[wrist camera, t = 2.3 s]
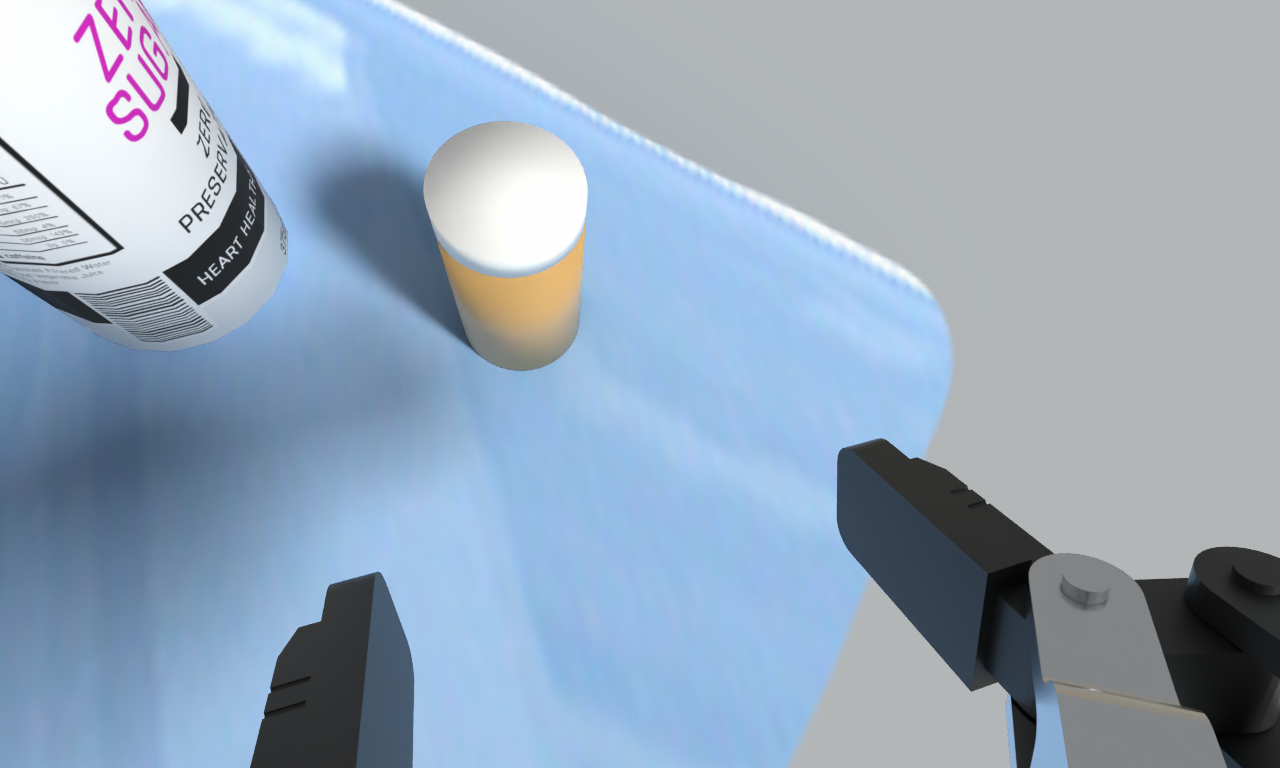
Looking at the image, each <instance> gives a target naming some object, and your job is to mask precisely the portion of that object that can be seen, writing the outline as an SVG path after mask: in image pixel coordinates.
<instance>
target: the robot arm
mask: <svg viewBox="0 0 1280 768" xmlns="http://www.w3.org/2000/svg"><path fill="white" fill-rule="evenodd" d="M837 523H838V528H839V531H840V534H841V537H842V539H843V542H844V544H845V545H846V547H847V549H848V550H849V551H850V553H851V554H852V555H853V556H854V557H855V558H856V560H857V561H858V562H859V563H860V564H861V565H862V567H863V568H864V569H865V570H866V571H867V572H868V573H869V575H870V576H871V577H872V578H873V579H874V580H875V581H876V583H877V584H878V585H879V586H880V587H881V588H882V589H883V591H884V592H885V593H886V594H887V595H888V596H889V598H890V599H891V600H892V601H893V602H894V603H895V604H896V606H897V607H898V608H899V609H900V610H901V611H902V612H903V614H904V615H905V616H906V617H907V618H908V619H909V621H910V622H911V623H912V624H913V625H914V626H915V627H916V628H917V630H918V631H919V632H920V633H921V634H922V635H923V637H924V638H925V639H926V640H927V641H928V642H929V643H930V645H931V646H932V647H933V648H934V649H935V650H936V652H937V653H938V654H939V655H940V656H941V657H942V659H944V661H945V662H946V663H947V664H948V665H949V667H950V668H951V669H952V670H953V671H954V672H955V673H956V675H957V676H958V677H959V678H960V679H961V680H962V681H963V683H964V684H965V685H966V686H967V687H968V688H969V690H970V691H974V690H977V689H980V688H983V687H985V686H988V685H991V684H994V683H997V682H998V683H999V684H1000V685H1001V686H1002V687H1003V688H1004V689H1005V690H1006V691H1007V692H1008V695H1007V701H1006V715H1007V716H1006V717H1007V729H1008V742H1009V754H1010V767H1011V768H1280V558H1278V557H1275V556H1272V555H1270V554H1266V553H1263V552H1260V551H1256V550H1251V549H1246V548H1239V547H1216V548H1210V549H1207V550H1205V551H1202V552H1201V553H1200V554H1198V555H1197V557H1196V558H1195V560H1194V563H1193V566H1192V569H1191V572H1190V576H1189V578H1178V579H1177V578H1174V579H1149V580H1148V579H1147V580H1133V579H1132V578H1131V577H1130V576H1129V575H1127V574H1126V573H1124V571H1122V570H1120V569H1119V568H1117V567H1115V566H1113V565H1111V564H1109V563H1107V562H1105V561H1102V560H1099V559H1097V558H1092V557H1089V556H1085V555H1080V554H1070V553H1059V554H1054V553H1052V552H1051V551H1050V550H1049V549H1047V548H1046V547H1045V546H1044V545H1042V544H1041V543H1040V542H1038V541H1037V540H1036V539H1035V538H1033V537H1032V536H1031V535H1029V534H1028V533H1027V532H1026V531H1024V530H1023V529H1022V528H1020V527H1019V526H1018V525H1017V524H1015V523H1014V522H1013V521H1011V520H1010V519H1009V518H1008V517H1006V516H1005V515H1003V514H1002V513H1001V512H1000V511H999V510H997V509H996V508H995V507H993V506H992V505H991V504H986V502H985V499H983V498H982V497H981V496H979V495H978V494H977V493H975V492H974V491H973V490H968V487H967V485H965V484H964V483H963V482H961V481H960V480H958V478H956V477H955V476H954V475H952V474H951V473H950V472H949V471H947V470H946V469H944V468H941V467H939V466H936V465H934V464H932V463H929V462H927V461H924V460H922V459H919V458H917V457H916V458H913V459H909V458H908V457H907V456H905V455H904V454H903V453H902V452H901V451H899V450H898V449H897V448H896V447H894V446H893V445H892V444H891V443H889V442H888V441H887V440H885V439H881V438H880V439H876V440H872V441H868V442H864V443H861V444H857V445H853V446H850V447H846V448H843V449H841V450H840V452H839V454H838V461H837ZM270 689H271V693H269V694H268V698H267V702H266V706H265V710H264V715H265V719H262V722H261V726H260V730H259V734H258V738H257V742H256V746H255V750H254V754H253V758H252V762H251V766H250V768H412V762H413V710H414V672H413V664H412V658H411V653H410V648H409V645H408V641H407V639H406V636H405V633H404V630H403V628H402V625H401V622H400V620H399V617H398V614H397V612H396V609H395V606H394V604H393V601H392V598H391V595H390V593H389V590H388V587H387V585H386V582H385V580H384V578H383V576H382V574H381V573H380V572H375V573H372V574H368V575H364V576H360V577H357V578H353V579H349V580H346V581H342V582H338V583H334V584H331V585H329V587H328V589H327V593H326V598H325V604H324V609H323V614H322V620H321V622H317V623H313V624H310V625H306V626H303V627H299V628H298V629H297V631H296V632H295V634H294V635H293V636H292V638H291V639H290V641H289V642H288V643H287V645H286V646H285V648H284V649H283V651H282V652H281V653H280V655H279V656H278V658H277V662H276V666H275V670H274V674H273V678H272V682H271V686H270Z"/></svg>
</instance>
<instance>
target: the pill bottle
mask: <svg viewBox="0 0 1280 768" xmlns="http://www.w3.org/2000/svg"><path fill="white" fill-rule="evenodd" d="M423 191H424V200H425V204H426V208H427V211H428V214H429V217H430V221H431V224H432V227H433V230H434V233H435V237H436V240H437V243H438V246H439V250H440V253H441V256H442V259H443V263H444V266H445V269H446V272H447V275H448V279H449V282H450V285H451V288H452V292H453V295H454V298H455V301H456V305H457V308H458V311H459V314H460V317H461V321H462V324H463V327H464V330H465V334H466V336H467V338H468V341H469V342H470V344H471V346H472V347H473V348H474V350H475V351H476V352H477V353H478V354H479V355H480V356H481V357H482V358H484V359H485V360H487V361H488V362H490V363H492V364H494V365H496V366H498V367H501V368H505V369H509V370H516V371H526V370H533V369H537V368H541V367H543V366H546V365H548V364H550V363H552V362H554V361H555V360H557V359H558V358H560V357H561V356H562V355H563V354H564V353H565V352H566V351H567V350H568V349H569V347H570V346H571V344H572V343H573V341H574V339H575V337H576V334H577V331H578V327H579V317H580V301H581V285H582V270H583V254H584V238H585V222H586V206H587V181H586V176H585V173H584V170H583V167H582V165H581V163H580V161H579V159H578V158H577V156H576V155H575V154H574V152H573V151H572V150H571V149H570V148H569V147H568V146H567V145H566V144H565V143H564V142H563V141H562V140H560V139H559V138H558V137H556V136H555V135H553V134H551V133H549V132H547V131H546V130H544V129H541V128H538V127H536V126H533V125H529V124H525V123H519V122H510V121H498V122H489V123H483V124H480V125H476V126H473V127H470V128H468V129H465V130H463V131H461V132H459V133H458V134H456V135H454V136H453V137H452V138H450V139H449V140H447V141H446V142H445V143H444V144H443V145H442V146H441V147H440V148H439V149H438V151H437V152H436V153H435V154H434V156H433V157H432V159H431V161H430V163H429V165H428V167H427V170H426V173H425V177H424V186H423Z"/></svg>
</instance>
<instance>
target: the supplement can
mask: <svg viewBox="0 0 1280 768" xmlns="http://www.w3.org/2000/svg"><path fill="white" fill-rule="evenodd" d="M287 263H288V232H287V229H286V227H285V225H284V223H283V221H282V219H281V217H280V214H279V212H278V210H277V208H276V206H275V204H274V203H273V201H272V200H271V198H270V197H269V195H268V193H267V192H266V190H265V189H264V187H263V186H262V184H261V183H260V181H259V180H258V178H257V177H256V175H255V174H254V172H253V171H252V169H251V168H250V166H249V165H248V163H247V162H246V160H245V159H244V157H243V156H242V154H241V153H240V151H239V149H238V148H237V146H236V145H235V143H234V142H233V140H232V139H231V137H230V136H229V134H228V133H227V131H226V130H225V128H224V127H223V125H222V124H221V122H220V121H219V119H218V118H217V116H216V115H215V113H214V112H213V110H212V109H211V107H210V105H209V104H208V102H207V101H206V99H205V98H204V96H203V95H202V93H201V92H200V90H199V89H198V87H197V86H196V84H195V83H194V81H193V80H192V78H191V77H190V75H189V74H188V72H187V71H186V69H185V68H184V66H183V65H182V63H181V61H180V60H179V58H178V57H177V55H176V54H175V52H174V51H173V49H172V48H171V46H170V45H169V43H168V42H167V40H166V39H165V37H164V36H163V34H162V33H161V31H160V30H159V28H158V27H157V25H156V24H155V22H154V21H153V19H152V17H151V16H150V14H149V13H148V11H147V10H146V8H145V7H144V5H143V4H142V2H141V1H140V0H0V272H1V273H3V274H4V275H6V276H8V277H9V278H11V279H12V280H14V281H15V282H17V283H18V284H20V285H21V286H23V287H24V288H26V289H27V290H29V291H31V292H32V293H34V294H35V295H37V296H38V297H40V298H41V299H43V300H44V301H46V302H47V303H49V304H50V305H52V306H53V307H55V308H57V309H58V310H60V311H61V312H63V313H64V314H66V315H67V316H69V317H70V318H72V319H73V320H75V321H76V322H78V323H80V324H81V325H83V326H84V327H86V328H87V329H89V330H90V331H92V332H93V333H95V334H96V335H98V336H100V337H103V338H105V339H108V340H110V341H113V342H115V343H118V344H120V345H123V346H125V347H128V348H130V349H133V350H151V351H173V352H174V351H178V350H182V349H186V348H190V347H194V346H198V345H202V344H206V343H210V342H214V341H216V340H218V339H219V338H221V337H223V336H225V335H226V334H228V333H230V332H231V331H233V330H235V329H237V328H238V327H240V326H242V325H243V324H245V323H247V322H249V321H250V320H251V319H252V318H253V317H254V315H255V314H256V313H257V312H258V311H259V310H260V309H261V308H262V307H263V306H264V305H265V303H266V302H267V301H268V300H269V299H270V298H271V297H272V296H273V295H274V294H275V292H276V289H277V287H278V284H279V282H280V280H281V277H282V275H283V273H284V270H285V268H286V265H287Z"/></svg>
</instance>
